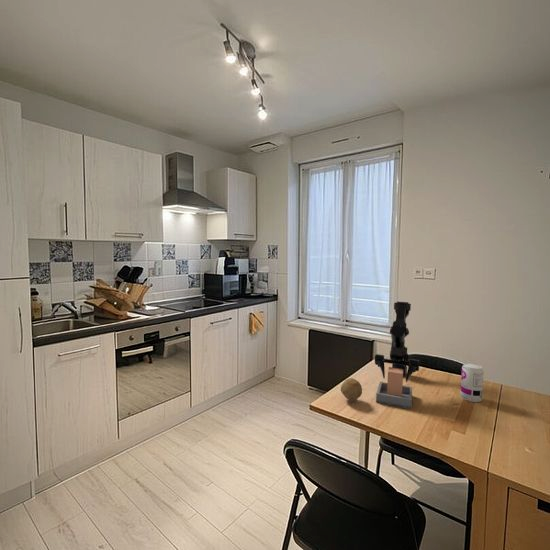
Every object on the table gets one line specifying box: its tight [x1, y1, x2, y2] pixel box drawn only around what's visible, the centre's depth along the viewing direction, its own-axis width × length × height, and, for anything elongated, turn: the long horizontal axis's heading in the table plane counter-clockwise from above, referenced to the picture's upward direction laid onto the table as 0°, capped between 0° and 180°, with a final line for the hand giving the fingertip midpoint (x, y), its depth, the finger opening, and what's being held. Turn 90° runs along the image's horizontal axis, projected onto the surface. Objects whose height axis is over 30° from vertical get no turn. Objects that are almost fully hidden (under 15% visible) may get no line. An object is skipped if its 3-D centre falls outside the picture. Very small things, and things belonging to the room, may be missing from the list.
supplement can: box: [459, 362, 485, 403], centre depth 142 cm, size 8×8×15 cm
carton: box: [386, 366, 404, 397], centre depth 141 cm, size 6×6×12 cm
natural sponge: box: [340, 377, 363, 403], centre depth 138 cm, size 9×9×10 cm
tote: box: [375, 381, 413, 410], centre depth 141 cm, size 14×14×4 cm
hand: (395, 380), depth 139 cm, fingers open, 9 cm apart
